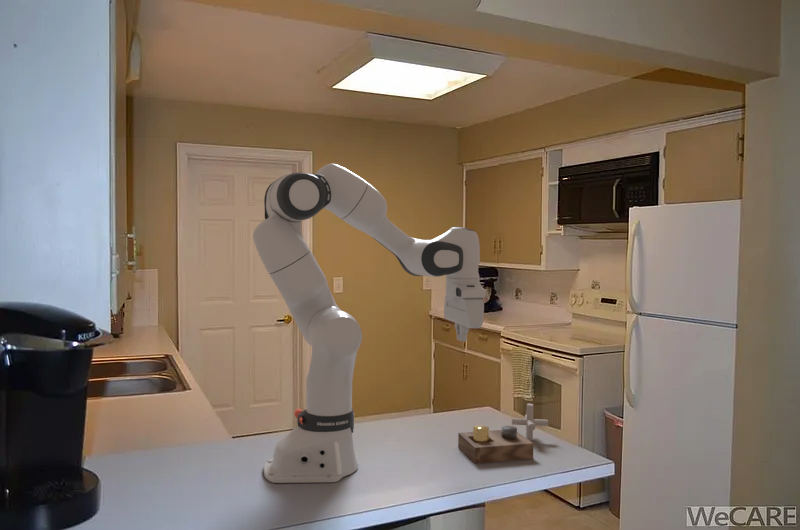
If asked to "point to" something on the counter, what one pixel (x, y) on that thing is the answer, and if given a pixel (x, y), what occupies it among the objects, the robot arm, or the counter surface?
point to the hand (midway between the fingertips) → (461, 340)
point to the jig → (496, 446)
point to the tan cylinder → (480, 434)
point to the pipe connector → (529, 422)
